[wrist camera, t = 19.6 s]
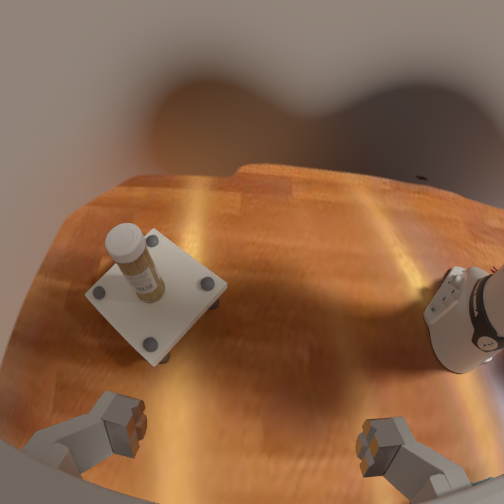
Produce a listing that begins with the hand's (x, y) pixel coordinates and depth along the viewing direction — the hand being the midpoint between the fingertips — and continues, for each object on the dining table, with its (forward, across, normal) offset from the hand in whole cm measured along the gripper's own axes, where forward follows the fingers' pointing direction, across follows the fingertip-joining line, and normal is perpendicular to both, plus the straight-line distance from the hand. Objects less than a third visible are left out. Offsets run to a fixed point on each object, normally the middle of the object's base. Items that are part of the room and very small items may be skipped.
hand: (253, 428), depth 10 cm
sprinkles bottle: (+33, +16, +8) cm, 37 cm away
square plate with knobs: (+37, +16, +13) cm, 42 cm away
